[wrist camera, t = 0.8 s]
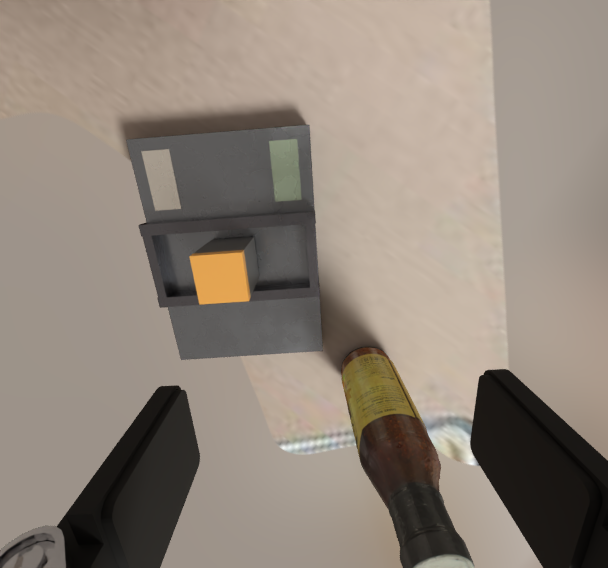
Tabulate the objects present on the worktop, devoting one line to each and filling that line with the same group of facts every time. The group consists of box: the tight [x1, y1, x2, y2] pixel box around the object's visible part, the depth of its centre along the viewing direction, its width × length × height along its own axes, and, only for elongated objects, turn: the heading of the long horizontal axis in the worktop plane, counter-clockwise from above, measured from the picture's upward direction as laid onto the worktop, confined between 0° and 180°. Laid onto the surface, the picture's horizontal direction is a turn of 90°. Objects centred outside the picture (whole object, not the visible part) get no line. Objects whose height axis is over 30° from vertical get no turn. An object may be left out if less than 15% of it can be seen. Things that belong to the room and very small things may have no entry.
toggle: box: [189, 237, 259, 305], centre depth 26 cm, size 4×4×6 cm
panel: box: [126, 125, 323, 360], centre depth 30 cm, size 22×16×4 cm
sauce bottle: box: [341, 347, 474, 568], centre depth 27 cm, size 7×6×20 cm
